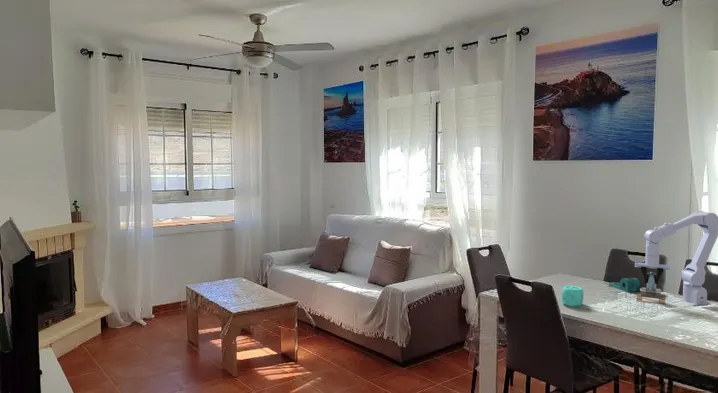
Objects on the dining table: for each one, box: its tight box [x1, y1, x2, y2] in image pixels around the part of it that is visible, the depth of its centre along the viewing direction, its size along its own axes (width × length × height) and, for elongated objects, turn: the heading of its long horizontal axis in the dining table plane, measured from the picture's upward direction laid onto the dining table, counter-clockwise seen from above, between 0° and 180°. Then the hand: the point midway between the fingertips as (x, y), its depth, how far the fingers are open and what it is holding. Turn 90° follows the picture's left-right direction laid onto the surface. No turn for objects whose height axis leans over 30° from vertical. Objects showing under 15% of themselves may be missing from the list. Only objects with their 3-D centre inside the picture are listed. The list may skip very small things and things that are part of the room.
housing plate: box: [635, 286, 666, 306], centre depth 249 cm, size 22×12×4 cm, turn 150°
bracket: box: [609, 277, 641, 294], centre depth 269 cm, size 18×7×8 cm, turn 7°
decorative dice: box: [561, 285, 584, 308], centre depth 242 cm, size 8×8×8 cm
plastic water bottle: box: [645, 271, 657, 291], centre depth 244 cm, size 4×4×9 cm
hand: (651, 283), depth 244 cm, fingers closed on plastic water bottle, 4 cm apart
